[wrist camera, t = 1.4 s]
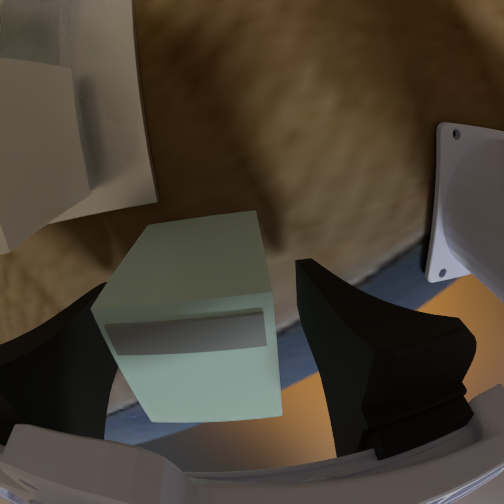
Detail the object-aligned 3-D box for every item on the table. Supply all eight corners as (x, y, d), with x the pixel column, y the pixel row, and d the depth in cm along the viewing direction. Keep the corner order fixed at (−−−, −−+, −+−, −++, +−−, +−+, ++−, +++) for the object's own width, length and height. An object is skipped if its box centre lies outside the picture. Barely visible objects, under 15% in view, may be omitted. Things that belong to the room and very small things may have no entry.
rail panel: (139, -122, 3) (133, -135, 2) (159, 199, 11) (150, 209, 10) (2, -55, 3) (-10, -61, 2) (8, 232, 12) (-7, 243, 10)
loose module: (255, 209, 12) (272, 294, 6) (266, 310, 14) (282, 418, 9) (148, 224, 12) (88, 311, 6) (175, 320, 14) (151, 424, 9)
